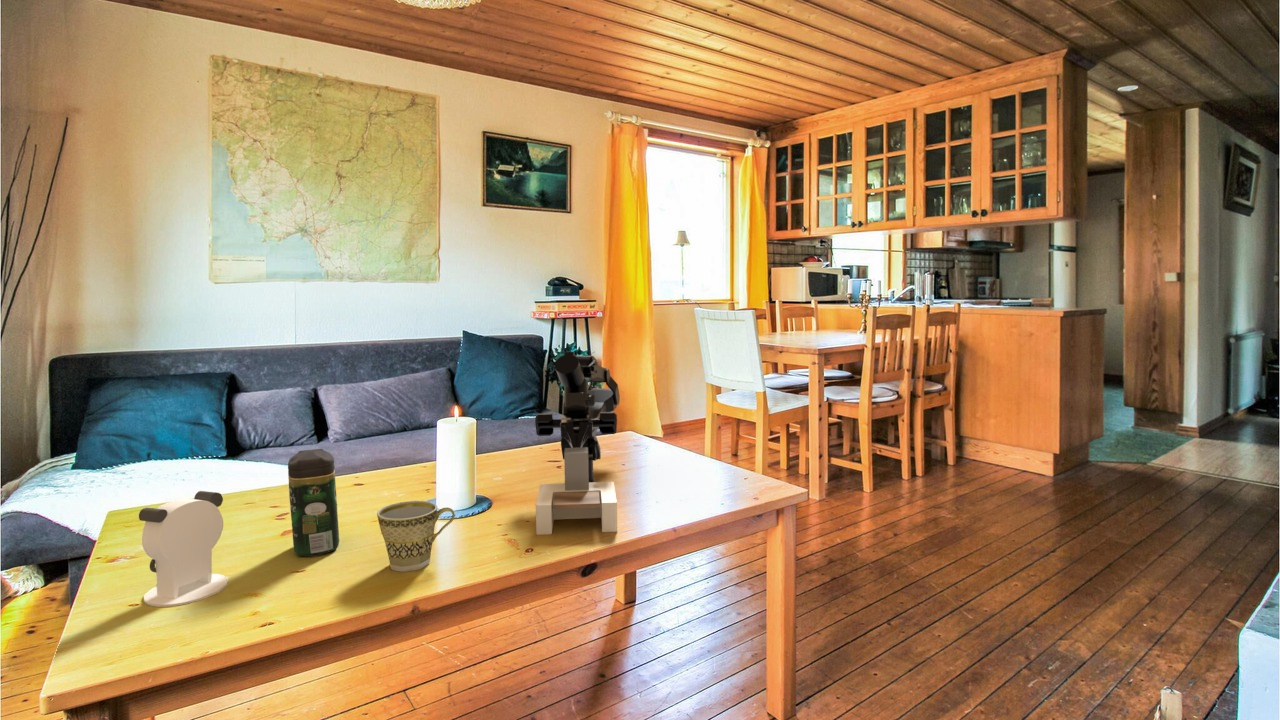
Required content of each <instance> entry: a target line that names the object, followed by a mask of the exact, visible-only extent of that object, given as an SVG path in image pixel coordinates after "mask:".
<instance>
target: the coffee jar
mask: <svg viewBox="0 0 1280 720" xmlns="http://www.w3.org/2000/svg"><path fill="white" fill-rule="evenodd" d="M287 463H288V464H287V469H288V470H287V471H288V472H287V473H288V474H287V475H288V476H287V477H288V492H289V494H288V497H289V508H290V518H291V531H292V543H293V551H294V553H295V554H296V556H300V557H301V556H302V557H303V556H304V557H305V556H306V557H317V556H321V555H324V554H326V553H329V552H333V551H335V550H336V549H338V547H339V545H340V544H339V543H340V530H339V519H338V518H339V517H338V501H337V500H338V499H337V485H336V470H335V457H334V456H333V455H332V453H331V452H328V451H326V450H324V449H323V448H316V449H307V450H299V451H298V452H297V453H296V454H294V455H293V456H291V457H290V458H289V460H288V462H287Z"/></svg>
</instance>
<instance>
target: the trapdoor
mask: <svg viewBox="0 0 1280 720" xmlns="http://www.w3.org/2000/svg"><path fill="white" fill-rule="evenodd" d="M595 507H600V499H599V491H583V492H555V495H554V503H553V509H567V508H595Z"/></svg>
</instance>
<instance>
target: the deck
mask: <svg viewBox="0 0 1280 720" xmlns="http://www.w3.org/2000/svg"><path fill="white" fill-rule="evenodd" d="M539 484H540V485H539V489H538V493H537V498H536V502H535V503H536V504H535V527H536V528H535V531H536V535H537V536H543V535H552V534H553V528H554V520H576V519H578V520H579V519H600V520H601V532H602V533H615V532H617V533H618V500H617V496H616V488H615V482H614V481H598V482H597V481H595V482H589V490H573V491H565V482H563V483H539ZM583 491H599V499H600V507H595V508H567V509H553V503H554V495H555V492H583Z"/></svg>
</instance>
